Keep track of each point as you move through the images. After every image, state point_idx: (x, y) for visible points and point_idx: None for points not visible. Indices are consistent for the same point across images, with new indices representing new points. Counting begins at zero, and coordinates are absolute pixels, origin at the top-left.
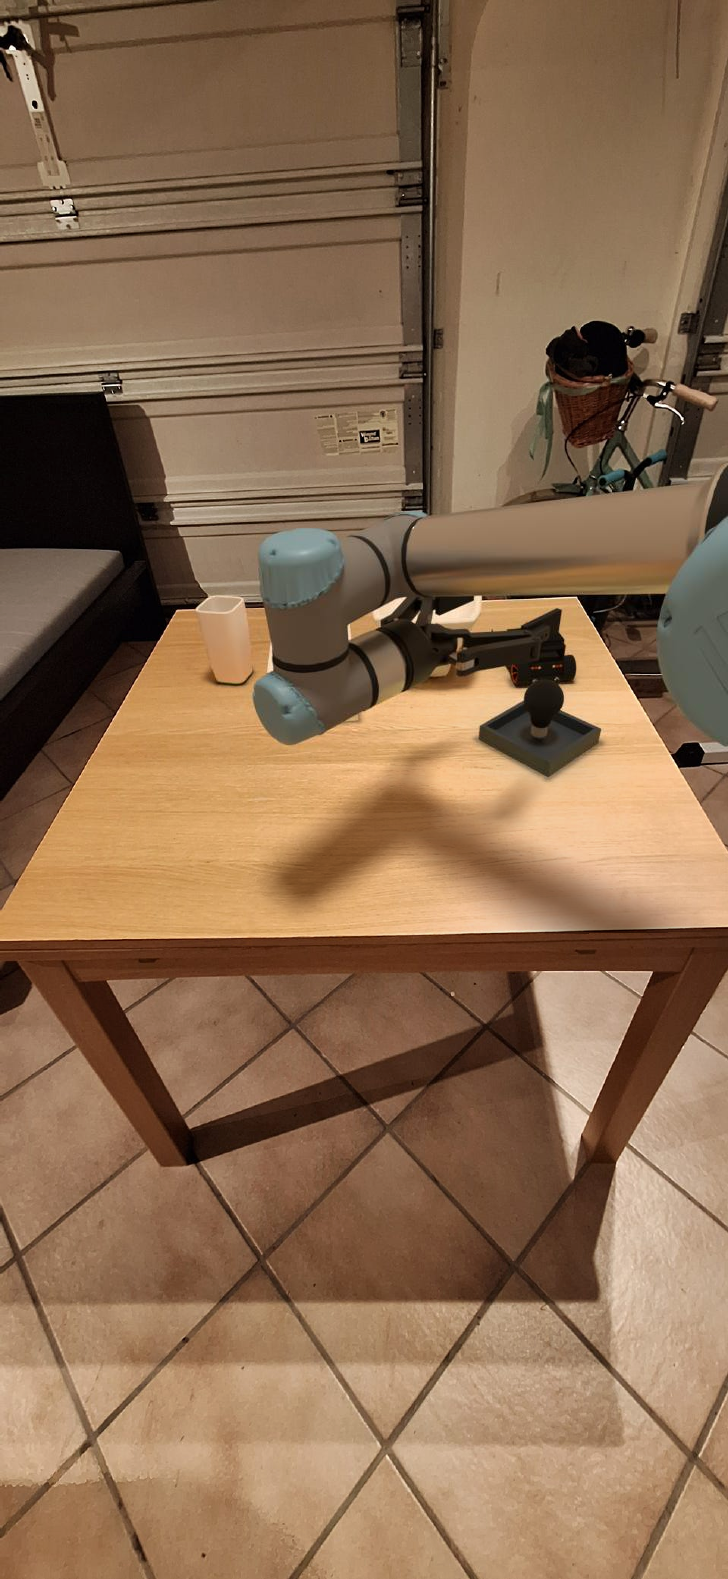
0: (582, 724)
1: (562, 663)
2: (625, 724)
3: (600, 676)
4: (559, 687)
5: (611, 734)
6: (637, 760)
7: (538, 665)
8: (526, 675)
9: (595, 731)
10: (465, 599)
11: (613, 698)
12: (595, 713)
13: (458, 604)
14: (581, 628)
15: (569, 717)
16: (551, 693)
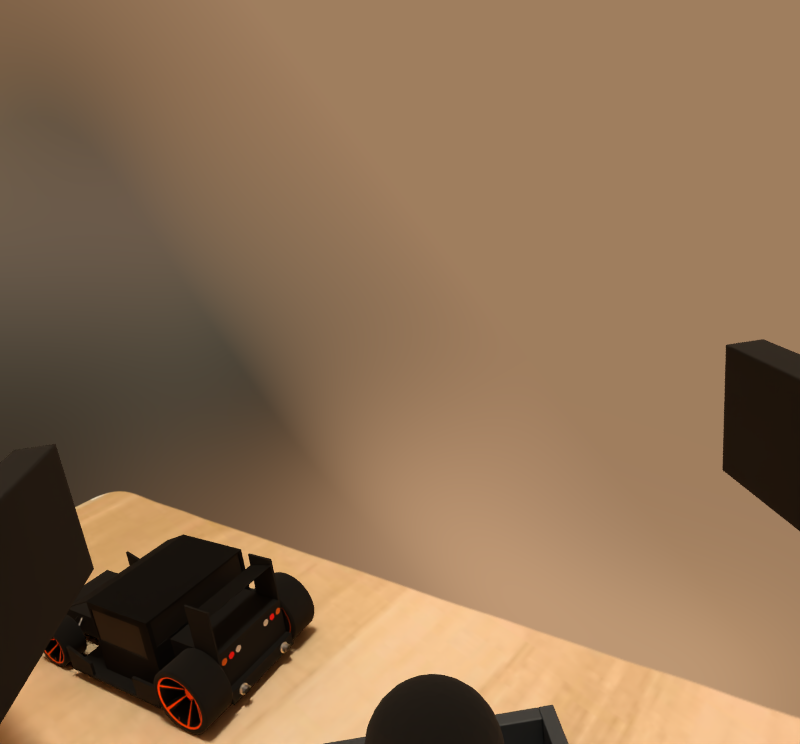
0: (504, 728)
1: (279, 603)
2: (521, 649)
3: (341, 582)
4: (461, 682)
5: (539, 696)
6: (671, 720)
7: (234, 644)
8: (222, 691)
9: (556, 724)
10: (49, 591)
11: (422, 609)
12: (443, 669)
13: (18, 659)
14: (199, 519)
15: None
16: (476, 722)
